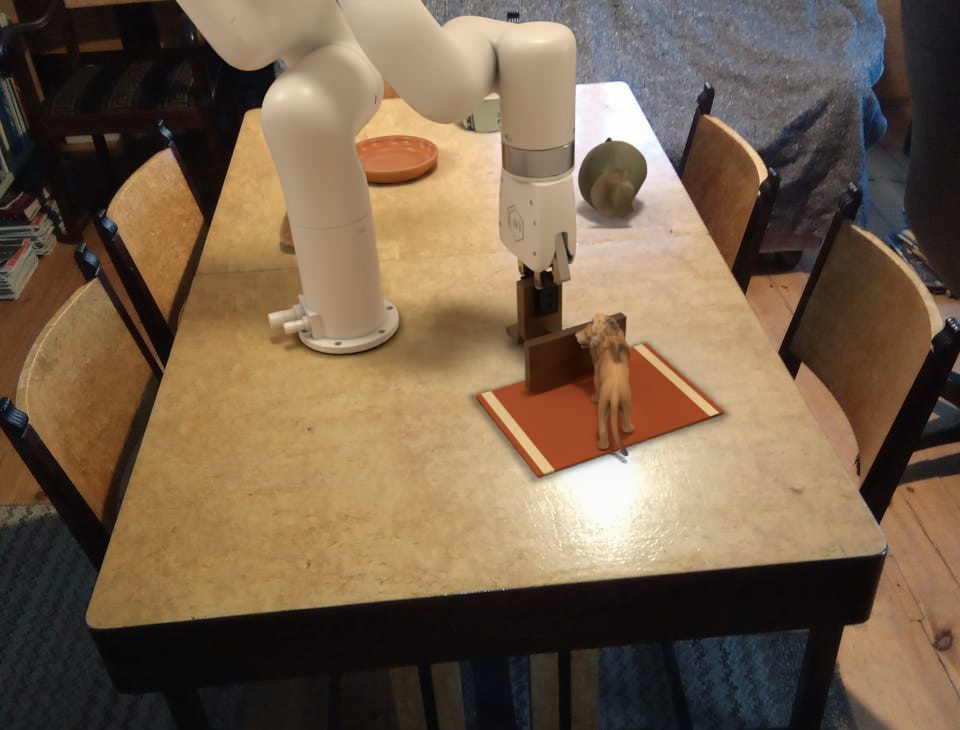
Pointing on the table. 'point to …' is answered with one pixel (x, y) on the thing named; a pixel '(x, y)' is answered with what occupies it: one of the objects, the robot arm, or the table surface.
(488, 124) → the food container
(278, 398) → the table surface
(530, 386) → the rod with end plates
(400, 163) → the saucer
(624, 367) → the lion figurine
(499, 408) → the towel
